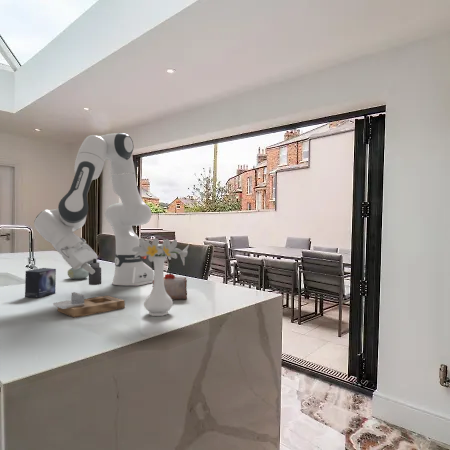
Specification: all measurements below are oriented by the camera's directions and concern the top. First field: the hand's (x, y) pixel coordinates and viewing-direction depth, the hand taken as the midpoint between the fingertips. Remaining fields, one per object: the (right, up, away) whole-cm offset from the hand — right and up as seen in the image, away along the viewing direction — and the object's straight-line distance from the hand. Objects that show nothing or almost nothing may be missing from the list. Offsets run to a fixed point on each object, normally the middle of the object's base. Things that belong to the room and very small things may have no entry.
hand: (96, 271), depth 138 cm
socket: (+3, -11, -14) cm, 18 cm away
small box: (-26, -11, +8) cm, 29 cm away
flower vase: (+27, -12, -18) cm, 35 cm away
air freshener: (-27, -10, +51) cm, 59 cm away
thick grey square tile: (-2, -8, -19) cm, 21 cm away
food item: (+27, -11, +5) cm, 30 cm away
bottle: (-1, -5, 0) cm, 5 cm away
